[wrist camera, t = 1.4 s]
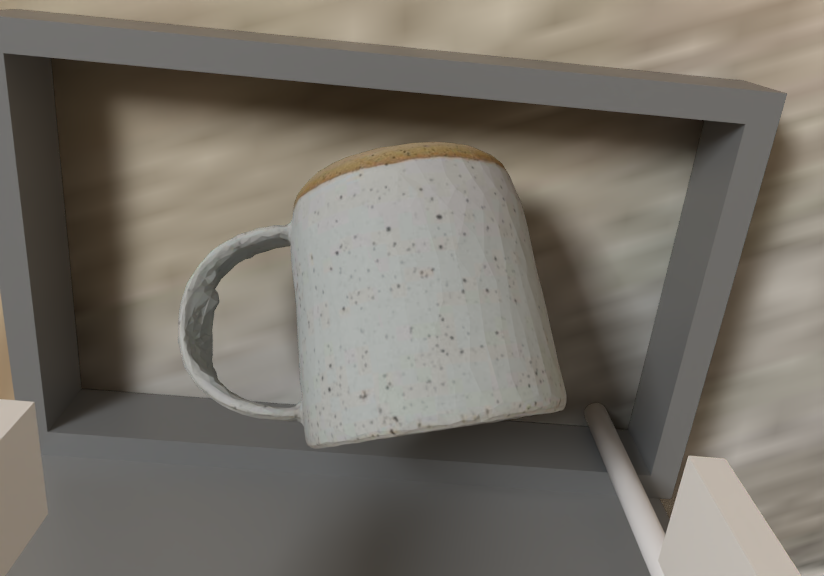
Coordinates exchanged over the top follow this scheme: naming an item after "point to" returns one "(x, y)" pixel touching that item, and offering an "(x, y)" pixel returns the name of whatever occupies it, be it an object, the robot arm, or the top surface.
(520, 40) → the top surface
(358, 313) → the ceramic mug
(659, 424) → the case
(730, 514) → the robot arm
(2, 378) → the beige square panel
